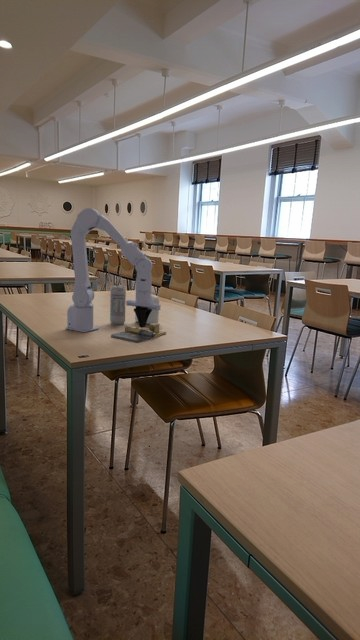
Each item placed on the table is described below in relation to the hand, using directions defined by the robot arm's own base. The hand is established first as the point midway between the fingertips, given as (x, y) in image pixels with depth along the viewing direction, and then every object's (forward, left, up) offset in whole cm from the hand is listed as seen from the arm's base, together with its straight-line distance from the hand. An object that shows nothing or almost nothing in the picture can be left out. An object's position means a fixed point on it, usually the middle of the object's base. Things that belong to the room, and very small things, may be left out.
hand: (142, 326), depth 155 cm
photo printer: (-8, +14, -2) cm, 17 cm away
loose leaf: (+3, -1, -2) cm, 3 cm away
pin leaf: (+3, -9, -2) cm, 9 cm away
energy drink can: (-16, +5, -2) cm, 17 cm away
